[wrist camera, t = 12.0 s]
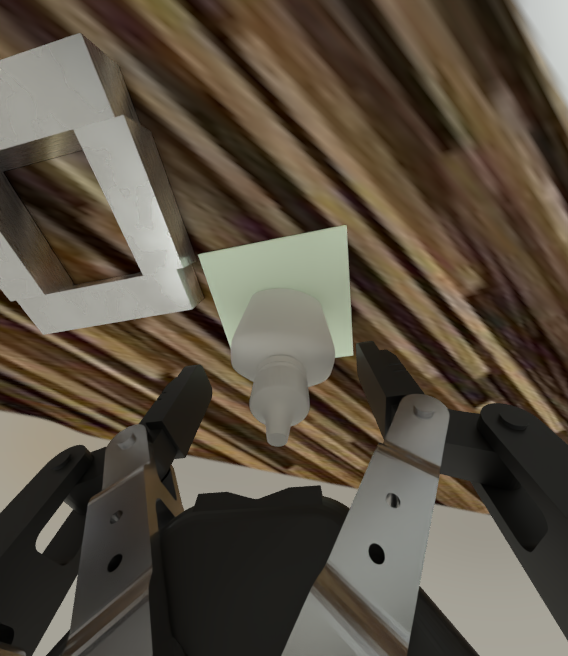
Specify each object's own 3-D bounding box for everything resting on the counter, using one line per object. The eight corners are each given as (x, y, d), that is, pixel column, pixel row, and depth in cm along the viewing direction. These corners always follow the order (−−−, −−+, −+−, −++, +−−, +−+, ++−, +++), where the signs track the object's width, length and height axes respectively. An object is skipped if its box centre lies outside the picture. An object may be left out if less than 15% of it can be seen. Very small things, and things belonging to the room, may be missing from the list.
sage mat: (200, 253, 17) (197, 254, 16) (344, 224, 16) (346, 225, 15) (239, 366, 22) (238, 370, 21) (351, 351, 21) (353, 355, 20)
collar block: (-73, 126, 14) (-143, 108, 12) (126, 63, 12) (90, 29, 10) (65, 322, 20) (37, 335, 18) (209, 297, 18) (198, 308, 16)
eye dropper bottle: (296, 343, 20) (302, 495, 9) (243, 308, 18) (174, 439, 8) (328, 307, 18) (383, 440, 7) (272, 265, 17) (239, 355, 6)
